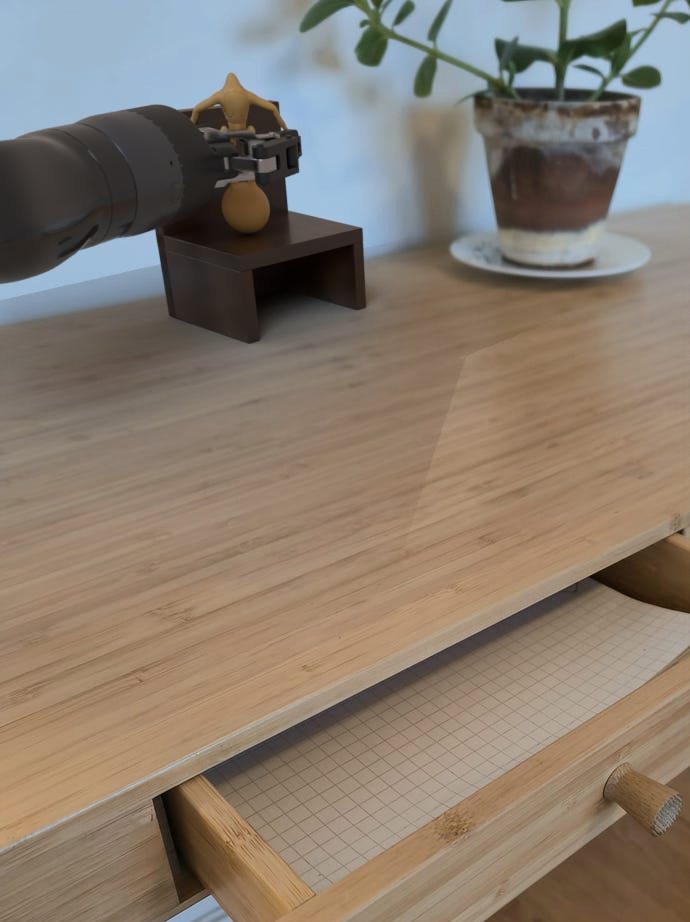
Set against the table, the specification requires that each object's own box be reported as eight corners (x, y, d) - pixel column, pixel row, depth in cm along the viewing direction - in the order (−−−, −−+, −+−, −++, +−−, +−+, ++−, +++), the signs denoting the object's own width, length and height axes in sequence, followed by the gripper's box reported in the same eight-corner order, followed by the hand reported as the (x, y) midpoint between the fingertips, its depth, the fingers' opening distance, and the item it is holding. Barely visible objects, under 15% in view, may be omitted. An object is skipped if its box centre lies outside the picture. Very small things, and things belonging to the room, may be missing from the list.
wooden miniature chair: (168, 315, 86) (135, 113, 76) (286, 284, 94) (270, 99, 85) (249, 343, 80) (223, 129, 71) (366, 307, 89) (357, 113, 80)
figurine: (295, 226, 85) (281, 69, 78) (302, 240, 80) (287, 74, 73) (198, 229, 83) (175, 69, 76) (199, 244, 78) (175, 75, 71)
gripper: (216, 118, 62) (330, 93, 75) (34, 103, 66) (172, 82, 79) (231, 240, 66) (336, 197, 79) (59, 220, 70) (186, 181, 83)
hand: (254, 140), depth 79 cm, fingers closed on figurine, 7 cm apart
